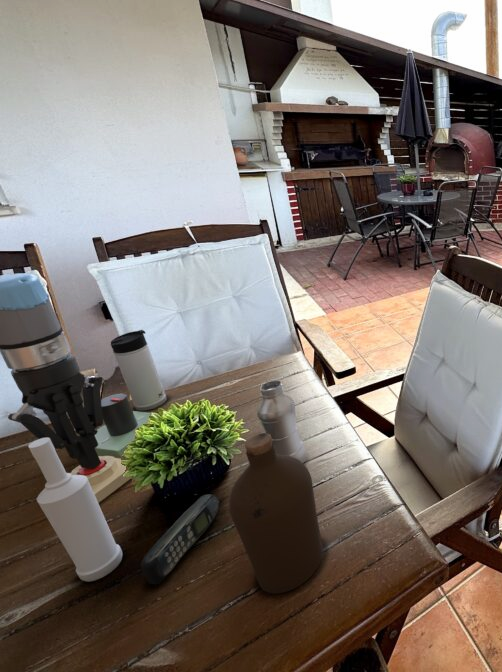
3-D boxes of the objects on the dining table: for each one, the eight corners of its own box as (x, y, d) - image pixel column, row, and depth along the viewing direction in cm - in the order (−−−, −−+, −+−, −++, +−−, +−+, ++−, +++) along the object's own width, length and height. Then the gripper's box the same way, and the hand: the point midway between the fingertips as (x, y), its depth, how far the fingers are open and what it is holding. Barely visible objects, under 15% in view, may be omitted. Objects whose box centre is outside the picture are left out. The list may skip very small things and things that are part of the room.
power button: (76, 479, 78) (72, 472, 77) (97, 465, 81) (93, 458, 80) (92, 481, 77) (88, 474, 76) (112, 467, 80) (109, 460, 80)
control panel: (75, 454, 87) (71, 444, 86) (132, 418, 98) (128, 409, 98) (122, 460, 86) (118, 450, 85) (174, 423, 97) (171, 414, 96)
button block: (51, 499, 76) (42, 483, 75) (102, 463, 85) (96, 448, 83) (95, 505, 75) (87, 489, 74) (143, 469, 83) (137, 454, 82)
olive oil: (337, 565, 64) (310, 441, 56) (263, 615, 58) (219, 483, 49) (314, 522, 72) (287, 406, 63) (246, 562, 65) (206, 438, 56)
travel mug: (172, 400, 105) (148, 333, 98) (140, 414, 100) (113, 343, 93) (163, 393, 108) (139, 327, 101) (131, 406, 103) (104, 337, 96)
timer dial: (103, 435, 89) (89, 404, 86) (126, 421, 94) (113, 391, 91) (121, 437, 89) (108, 406, 86) (143, 423, 93) (131, 393, 90)
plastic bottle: (313, 464, 85) (295, 384, 78) (279, 483, 80) (256, 399, 73) (301, 449, 89) (283, 372, 82) (268, 466, 84) (246, 385, 77)
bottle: (72, 588, 61) (0, 460, 52) (89, 558, 66) (25, 435, 57) (115, 575, 63) (53, 449, 54) (129, 546, 67) (73, 426, 59)
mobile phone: (152, 565, 60) (222, 483, 74) (132, 565, 60) (206, 482, 74) (162, 587, 61) (229, 502, 75) (143, 586, 62) (213, 502, 75)
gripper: (10, 383, 64) (68, 495, 72) (100, 344, 76) (141, 444, 84) (-27, 379, 65) (34, 490, 73) (68, 342, 77) (111, 440, 85)
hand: (91, 465), depth 78 cm, fingers closed
